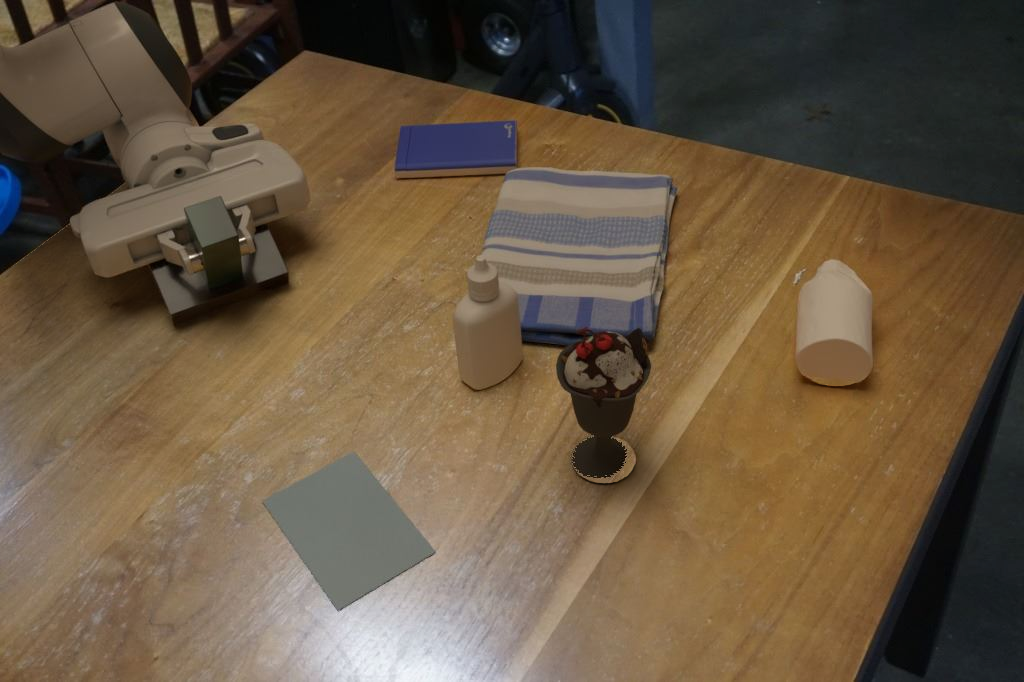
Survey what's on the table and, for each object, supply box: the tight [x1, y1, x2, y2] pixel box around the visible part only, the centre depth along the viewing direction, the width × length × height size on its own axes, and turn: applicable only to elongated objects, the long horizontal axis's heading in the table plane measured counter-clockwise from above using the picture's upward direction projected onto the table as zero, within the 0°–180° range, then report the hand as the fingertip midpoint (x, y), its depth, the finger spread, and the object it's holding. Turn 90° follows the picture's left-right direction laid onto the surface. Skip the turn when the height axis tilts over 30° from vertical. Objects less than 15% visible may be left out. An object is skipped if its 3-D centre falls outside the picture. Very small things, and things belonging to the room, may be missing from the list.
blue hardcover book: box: [394, 119, 518, 179], centre depth 115 cm, size 2×8×12 cm
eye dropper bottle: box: [452, 254, 524, 391], centre depth 88 cm, size 4×6×12 cm
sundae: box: [555, 327, 652, 478], centre depth 79 cm, size 7×7×15 cm
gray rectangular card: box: [261, 450, 436, 612], centre depth 81 cm, size 12×8×1 cm, turn 35°
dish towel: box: [480, 166, 678, 346], centre depth 101 cm, size 17×24×3 cm
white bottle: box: [794, 258, 874, 383], centre depth 90 cm, size 6×12×6 cm, turn 167°
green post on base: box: [147, 196, 290, 325], centre depth 96 cm, size 11×6×11 cm, turn 118°
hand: (221, 257), depth 94 cm, fingers closed on green post on base, 3 cm apart
